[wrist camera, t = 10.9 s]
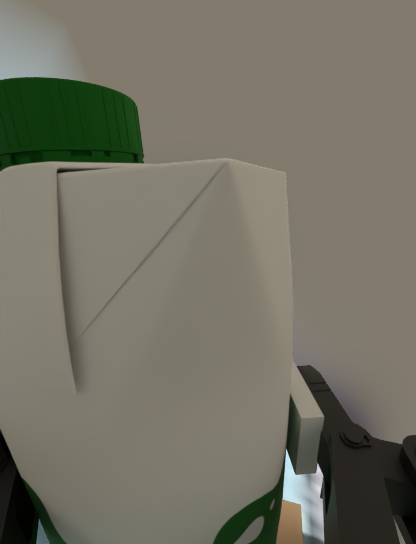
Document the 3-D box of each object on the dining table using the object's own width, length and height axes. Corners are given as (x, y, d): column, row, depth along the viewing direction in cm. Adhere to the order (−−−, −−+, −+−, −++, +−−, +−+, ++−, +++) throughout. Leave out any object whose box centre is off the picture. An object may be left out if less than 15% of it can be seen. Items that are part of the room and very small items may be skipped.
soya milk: (157, 440, 19) (108, 136, 12) (284, 485, 15) (312, 106, 9) (48, 624, 11) (-251, 60, 4) (259, 791, 8) (330, -384, 1)
